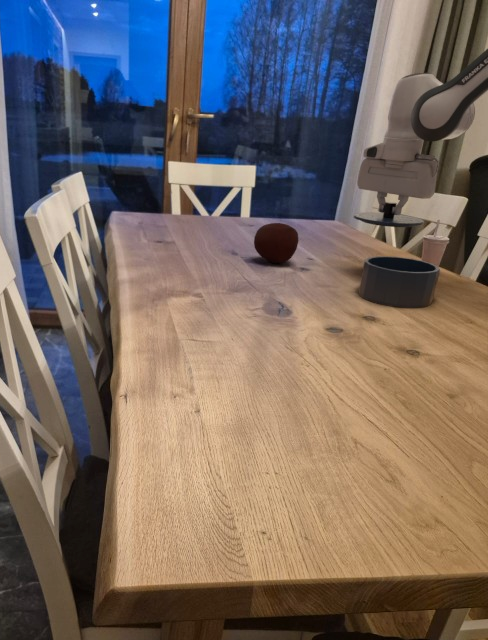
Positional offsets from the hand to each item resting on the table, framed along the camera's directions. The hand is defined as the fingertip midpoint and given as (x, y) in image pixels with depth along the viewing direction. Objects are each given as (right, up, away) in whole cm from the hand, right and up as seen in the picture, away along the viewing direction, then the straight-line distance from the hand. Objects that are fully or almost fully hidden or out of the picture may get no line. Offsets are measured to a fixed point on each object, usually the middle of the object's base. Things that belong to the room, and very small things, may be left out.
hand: (389, 213), depth 141 cm
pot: (-3, -23, -12) cm, 26 cm away
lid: (0, -1, +1) cm, 2 cm away
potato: (-26, -9, +14) cm, 31 cm away
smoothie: (+13, -13, +9) cm, 21 cm away
